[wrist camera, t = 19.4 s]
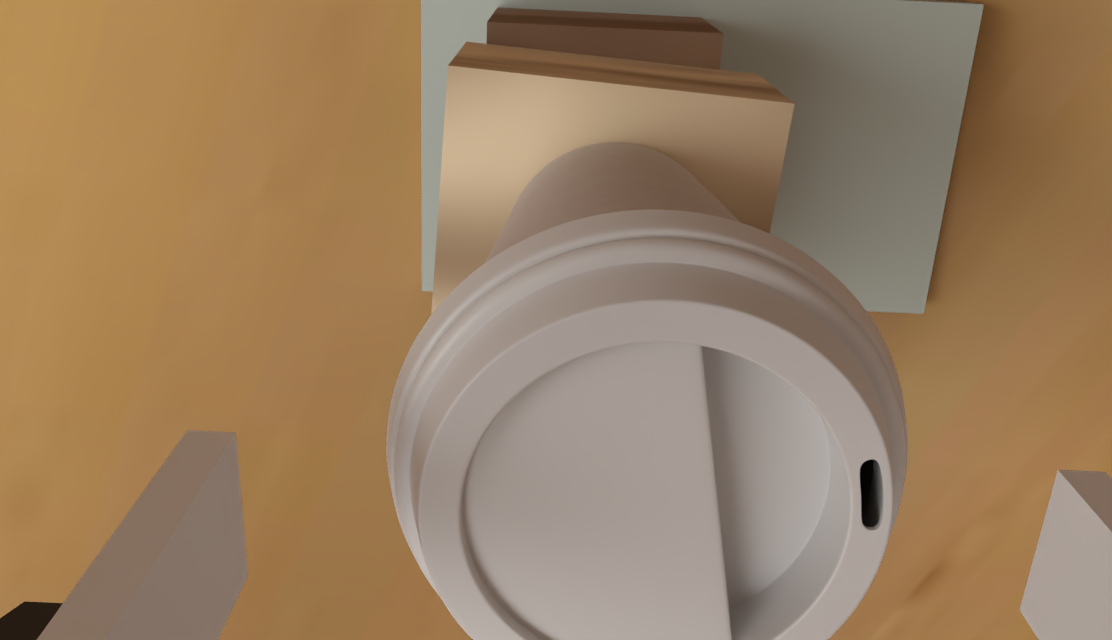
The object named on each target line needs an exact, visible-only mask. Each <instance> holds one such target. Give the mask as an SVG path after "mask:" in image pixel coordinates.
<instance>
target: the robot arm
mask: <svg viewBox="0 0 1112 640" xmlns="http://www.w3.org/2000/svg"><path fill="white" fill-rule="evenodd" d="M247 577H248V572H247V560H246V548H245V536H244V525H243V513H242V501H241V489H240V478H239V466H238V454H237V442H236V432H214V431H192V430H187V431H186V433H185V434H184V436H183V437H182V438H181V440H180V441H179V443H178V444H177V445H176V447H175V448H174V450H173V451H172V452H171V454H170V455H169V456H168V458H167V459H166V461H165V462H164V463H163V465H162V466H161V468H160V469H159V470H158V472H157V473H156V475H155V476H154V477H153V479H152V480H151V481H150V483H149V484H148V486H147V487H146V488H145V490H144V491H143V493H142V494H141V495H140V497H139V498H138V500H137V501H136V502H135V504H134V505H133V507H132V508H131V509H130V511H129V512H128V513H127V515H126V516H125V518H124V519H123V520H122V522H121V523H120V525H119V526H118V527H117V529H116V530H115V532H114V533H113V534H112V536H111V537H110V539H109V540H108V541H107V543H106V544H105V545H104V547H103V548H102V550H101V551H100V552H99V554H98V555H97V557H96V558H95V559H94V561H93V562H92V564H91V565H90V566H89V568H88V569H87V571H86V572H85V573H84V575H83V576H82V577H81V579H80V580H79V582H78V583H77V584H76V586H75V587H74V589H73V590H72V591H71V593H70V594H69V596H68V597H67V598H66V600H65V601H64V603H43V602H23V603H22V604H20V605H19V606H18V607H16V608H15V609H13V610H12V611H10V612H9V613H7V614H6V615H5V616H3V617H2V618H0V640H218V638H219V636H220V634H221V632H222V630H223V627H224V625H225V623H226V621H227V619H228V617H229V615H230V613H231V611H232V608H233V606H234V604H235V602H236V600H237V598H238V596H239V594H240V592H241V589H242V587H243V585H244V583H245V581H246V579H247ZM1020 611H1021V613H1022V615H1023V616H1024V618H1025V619H1026V621H1027V622H1028V624H1029V625H1030V627H1031V629H1032V630H1033V632H1034V633H1035V635H1036V636H1037V638H1038V639H1039V640H1112V478H1111V477H1110V476H1109V475H1108V474H1107V473H1106V472H1095V471H1073V470H1058V471H1057V475H1056V479H1055V482H1054V486H1053V490H1052V493H1051V497H1050V501H1049V504H1048V508H1047V512H1046V515H1045V519H1044V523H1043V526H1042V530H1041V534H1040V537H1039V541H1038V545H1037V548H1036V552H1035V556H1034V559H1033V563H1032V567H1031V570H1030V574H1029V578H1028V581H1027V585H1026V589H1025V592H1024V596H1023V600H1022V603H1021V607H1020Z"/></svg>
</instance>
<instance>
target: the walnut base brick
mask: <svg viewBox="0 0 1112 640" xmlns="http://www.w3.org/2000/svg"><path fill="white" fill-rule="evenodd" d="M722 43H723V33H722V32H721V31H719V30H718V29H716V28H715V27H714V26H712V25H711V24H709V23H708V22H707V21H705V20H704V19H702V18H701V17H684V16H663V15H643V14H622V13H602V12H581V11H561V10H540V9H520V8H499V7H497V9H496V10H495V12H494V13H493V14H492V16H491V17H490V18H489V20H488V21H487V43H486V44H493V45H502V46H511V47H520V48H529V49H538V50H547V51H556V52H565V53H574V54H584V55H593V56H602V57H611V58H620V59H629V60H638V61H647V62H656V63H665V64H674V65H683V66H692V67H701V68H710V69H719V70H720V62H721V52H722Z"/></svg>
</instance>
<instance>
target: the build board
mask: <svg viewBox="0 0 1112 640" xmlns="http://www.w3.org/2000/svg"><path fill="white" fill-rule="evenodd" d="M497 7H499V8H520V9H540V10H561V11H581V12H602V13H622V14H643V15H663V16H684V17H701V18H702V19H704V20H705V21H707V22H708V23H709V24H711V25H712V26H714V27H715V28H716V29H718V30H719V31H721V32H722V33H723V43H722V52H721V62H720V70H728V71H737V72H746V73H755V74H758V75H759V76H761V77H762V78H763V79H764V80H766V81H767V82H768V83H769V84H771V85H772V86H773V87H774V88H776V89H777V90H778V91H779V92H781V93H782V94H783V95H784V96H786V97H787V98H788V99H789V100H791V101H792V102H793V103H794V104H795V105H794V110H793V115H792V120H791V125H790V131H789V136H788V141H787V146H786V151H785V156H784V162H783V167H782V172H781V177H780V182H779V187H778V193H777V198H776V203H775V208H774V213H773V218H772V224H771V229H770V234H771V235H773V236H776V237H778V238H780V239H782V240H783V241H785V242H787V243H789V244H791V245H793V246H794V247H796V248H798V249H799V250H801V251H803V252H804V253H806V254H807V255H809V256H810V257H811V258H813V259H814V260H816V261H817V262H818V263H820V264H821V265H822V266H823V267H825V268H826V269H827V270H828V271H830V272H831V273H832V274H833V275H834V276H835V277H836V278H837V279H838V280H839V281H841V282H842V283H843V284H844V285H845V286H846V287H847V289H848V290H849V291H850V292H851V293H852V294H853V295H854V296H855V297H856V299H857V300H858V301H859V302H860V304H861V305H862V306H863V307H864V309H865V310H866V311H874V312H896V313H918V314H924V310H925V305H926V299H927V294H928V289H929V284H930V279H931V274H932V269H933V263H934V258H935V253H936V248H937V243H938V238H939V233H940V227H941V222H942V217H943V212H944V207H945V202H946V197H947V192H948V186H949V181H950V176H951V171H952V166H953V161H954V156H955V150H956V145H957V140H958V135H959V130H960V125H961V120H962V114H963V109H964V104H965V99H966V94H967V89H968V84H969V79H970V73H971V68H972V63H973V58H974V53H975V48H976V43H977V37H978V32H979V27H980V22H981V17H982V12H983V7H984V4H979V3H974V2H960V1H940V0H421V160H422V291H433V283H434V268H435V253H436V238H437V223H438V208H439V192H440V177H441V162H442V147H443V132H444V117H445V102H446V87H447V71H448V65H449V63H450V62H451V61H452V60H453V58H454V57H455V56H456V54H457V53H458V52H459V51H460V49H461V48H462V47H463V45H464V44H465V43H466V42H475V43H484V44H486V43H487V21H488V20H489V18H490V17H491V16H492V14H493V13H494V12H495V10H496V9H497Z"/></svg>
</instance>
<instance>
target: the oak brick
mask: <svg viewBox="0 0 1112 640" xmlns="http://www.w3.org/2000/svg"><path fill="white" fill-rule="evenodd" d="M794 105H795V104H794V103H793V102H792V101H791V100H789V99H788V98H787V97H786V96H784V95H783V94H782V93H781V92H779V91H778V90H777V89H776V88H774V87H773V86H772V85H771V84H769V83H768V82H767V81H766V80H764V79H763V78H762V77H761V76H759V75H758V74H755V73H746V72H737V71H728V70H719V69H710V68H701V67H692V66H683V65H674V64H665V63H656V62H647V61H638V60H629V59H620V58H611V57H602V56H593V55H584V54H574V53H565V52H556V51H547V50H538V49H529V48H520V47H511V46H502V45H493V44H484V43H475V42H466V43H465V44H464V45H463V47H462V48H461V49H460V51H459V52H458V53H457V54H456V56H455V57H454V58H453V60H452V61H451V62H450V63H449V65H448V71H447V87H446V102H445V117H444V132H443V147H442V162H441V177H440V192H439V208H438V223H437V238H436V253H435V268H434V283H433V298H432V313H431V315H432V314H433V313H434V311H435V310H436V309H437V307H438V306H439V305H440V304H441V303H442V302H443V300H444V299H445V298H446V297H447V296H448V295H449V294H450V293H451V292H452V291H453V290H454V289H455V288H456V287H457V286H458V285H459V284H460V283H461V282H462V281H463V280H464V279H466V278H467V277H468V276H469V275H470V274H471V273H473V272H474V271H475V270H476V269H478V268H479V267H480V266H482V265H483V264H484V263H485V262H486V260H487V258H488V256H489V254H490V252H491V250H492V248H493V246H494V244H495V242H496V241H497V239H498V237H499V235H500V233H501V231H502V229H503V227H504V225H505V223H506V221H507V219H508V217H509V215H510V213H511V211H512V209H513V208H514V206H515V204H516V202H517V200H518V198H519V196H520V195H521V193H522V192H523V190H524V189H525V187H526V186H527V185H528V183H529V182H530V181H531V180H532V179H533V178H534V177H535V176H536V174H538V173H539V172H540V171H541V170H542V169H543V168H544V167H546V166H547V165H548V164H549V163H551V162H552V161H554V160H555V159H557V158H559V157H560V156H562V155H564V154H566V153H568V152H571V151H573V150H576V149H578V148H581V147H585V146H589V145H593V144H599V143H609V142H620V143H631V144H636V145H641V146H645V147H648V148H651V149H654V150H656V151H659V152H661V153H663V154H665V155H667V156H669V157H670V158H672V159H674V160H675V161H677V162H678V163H680V164H681V165H682V166H683V167H685V168H686V169H687V170H688V171H689V172H690V173H691V174H692V175H693V176H694V177H695V178H696V179H697V180H698V181H699V182H700V183H701V184H702V185H703V186H704V187H705V188H706V189H707V190H708V191H709V192H710V193H711V194H712V195H713V196H714V197H716V198H717V199H718V200H719V201H720V202H721V203H722V204H723V205H724V206H725V207H726V208H727V209H728V210H729V211H730V212H731V213H732V214H733V215H734V216H735V217H736V218H737V219H738V220H739V221H740V222H741V223H743V224H746V225H749V226H752V227H755V228H757V229H760V230H762V231H764V232H767V233H769V234H770V229H771V224H772V218H773V213H774V208H775V203H776V198H777V193H778V187H779V182H780V177H781V172H782V167H783V162H784V156H785V151H786V146H787V141H788V136H789V131H790V125H791V120H792V115H793V110H794Z"/></svg>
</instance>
